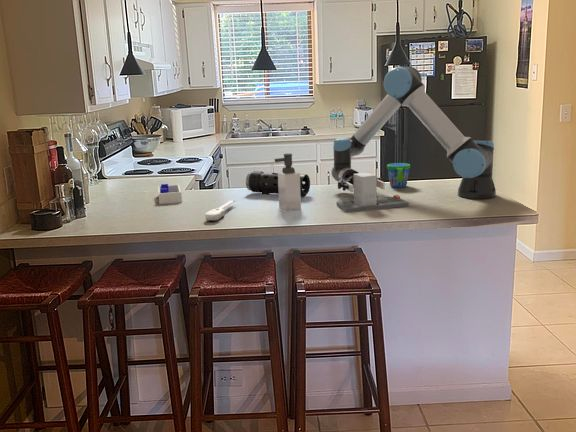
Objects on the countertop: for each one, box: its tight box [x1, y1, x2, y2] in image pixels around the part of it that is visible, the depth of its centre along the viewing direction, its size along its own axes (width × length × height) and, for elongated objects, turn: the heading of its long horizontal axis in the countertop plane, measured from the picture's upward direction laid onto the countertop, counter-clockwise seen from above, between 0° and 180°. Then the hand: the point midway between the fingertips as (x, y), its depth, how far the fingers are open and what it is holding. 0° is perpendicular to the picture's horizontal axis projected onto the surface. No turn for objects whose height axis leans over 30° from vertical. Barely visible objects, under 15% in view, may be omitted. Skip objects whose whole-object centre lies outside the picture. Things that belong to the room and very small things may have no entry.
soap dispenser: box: [274, 153, 302, 212], centre depth 228 cm, size 6×9×22 cm
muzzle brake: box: [245, 170, 311, 198], centre depth 255 cm, size 10×28×10 cm, turn 64°
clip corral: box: [157, 184, 183, 205], centre depth 256 cm, size 10×18×4 cm, turn 13°
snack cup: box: [386, 162, 411, 188], centre depth 264 cm, size 16×10×10 cm
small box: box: [353, 172, 378, 207], centre depth 228 cm, size 8×6×13 cm
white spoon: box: [204, 199, 237, 222], centre depth 227 cm, size 28×6×3 cm, turn 167°
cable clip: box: [160, 183, 169, 193], centre depth 256 cm, size 12×4×6 cm, turn 10°
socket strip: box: [336, 194, 410, 213], centre depth 230 cm, size 26×12×2 cm, turn 103°
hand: (368, 187), depth 224 cm, fingers open, 12 cm apart
